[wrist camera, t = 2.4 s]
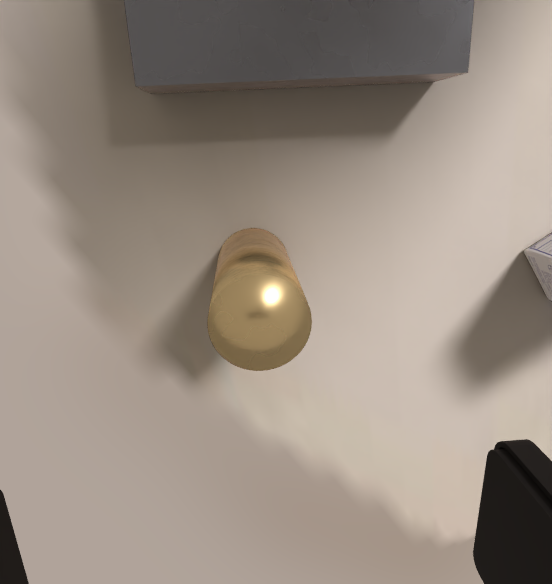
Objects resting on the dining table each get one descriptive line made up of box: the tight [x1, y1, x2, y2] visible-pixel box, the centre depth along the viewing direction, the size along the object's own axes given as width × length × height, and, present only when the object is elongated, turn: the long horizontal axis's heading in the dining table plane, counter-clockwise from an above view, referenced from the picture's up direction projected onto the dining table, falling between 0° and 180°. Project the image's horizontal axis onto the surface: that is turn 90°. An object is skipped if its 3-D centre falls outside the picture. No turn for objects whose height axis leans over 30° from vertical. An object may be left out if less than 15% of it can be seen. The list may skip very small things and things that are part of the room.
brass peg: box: [208, 228, 312, 371], centre depth 24 cm, size 4×4×10 cm
